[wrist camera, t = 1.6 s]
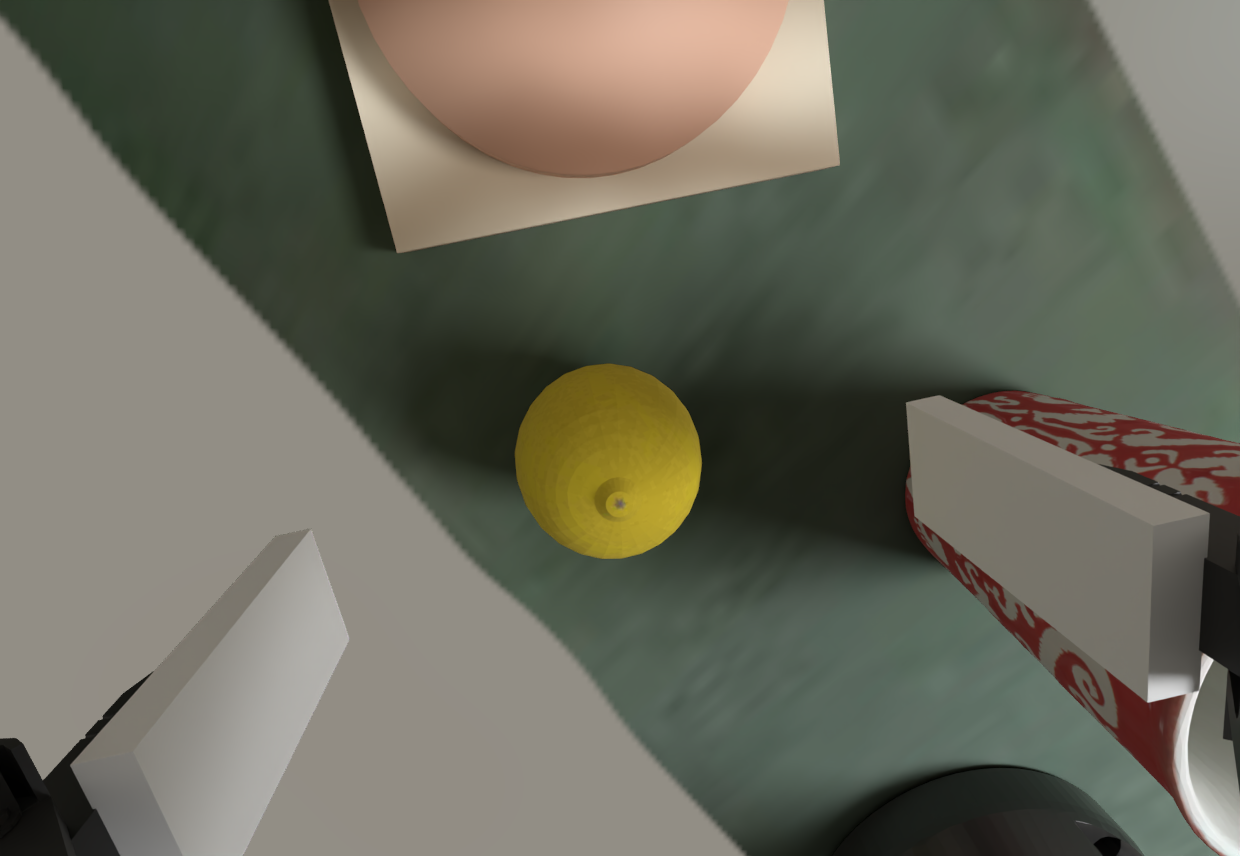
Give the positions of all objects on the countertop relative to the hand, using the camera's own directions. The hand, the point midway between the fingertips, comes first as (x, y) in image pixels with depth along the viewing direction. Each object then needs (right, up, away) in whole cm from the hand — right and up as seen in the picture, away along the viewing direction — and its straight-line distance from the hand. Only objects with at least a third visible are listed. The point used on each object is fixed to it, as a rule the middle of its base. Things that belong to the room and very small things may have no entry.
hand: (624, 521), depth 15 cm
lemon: (-1, +2, +10) cm, 10 cm away
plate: (-1, +16, +6) cm, 17 cm away
